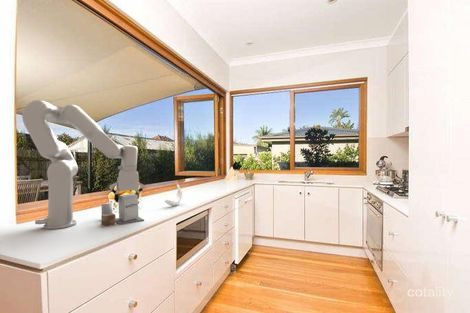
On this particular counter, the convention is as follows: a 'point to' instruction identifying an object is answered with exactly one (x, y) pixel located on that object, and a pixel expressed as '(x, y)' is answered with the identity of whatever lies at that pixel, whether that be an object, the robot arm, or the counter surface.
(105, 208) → the grey canister
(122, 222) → the charcoal mat
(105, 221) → the walnut block
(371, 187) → the counter surface
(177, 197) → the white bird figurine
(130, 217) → the supplement box
